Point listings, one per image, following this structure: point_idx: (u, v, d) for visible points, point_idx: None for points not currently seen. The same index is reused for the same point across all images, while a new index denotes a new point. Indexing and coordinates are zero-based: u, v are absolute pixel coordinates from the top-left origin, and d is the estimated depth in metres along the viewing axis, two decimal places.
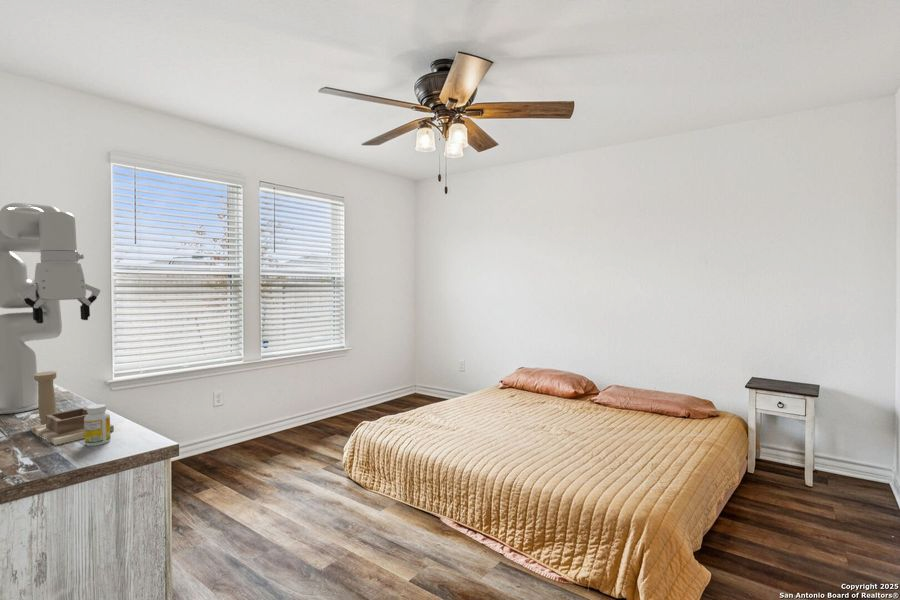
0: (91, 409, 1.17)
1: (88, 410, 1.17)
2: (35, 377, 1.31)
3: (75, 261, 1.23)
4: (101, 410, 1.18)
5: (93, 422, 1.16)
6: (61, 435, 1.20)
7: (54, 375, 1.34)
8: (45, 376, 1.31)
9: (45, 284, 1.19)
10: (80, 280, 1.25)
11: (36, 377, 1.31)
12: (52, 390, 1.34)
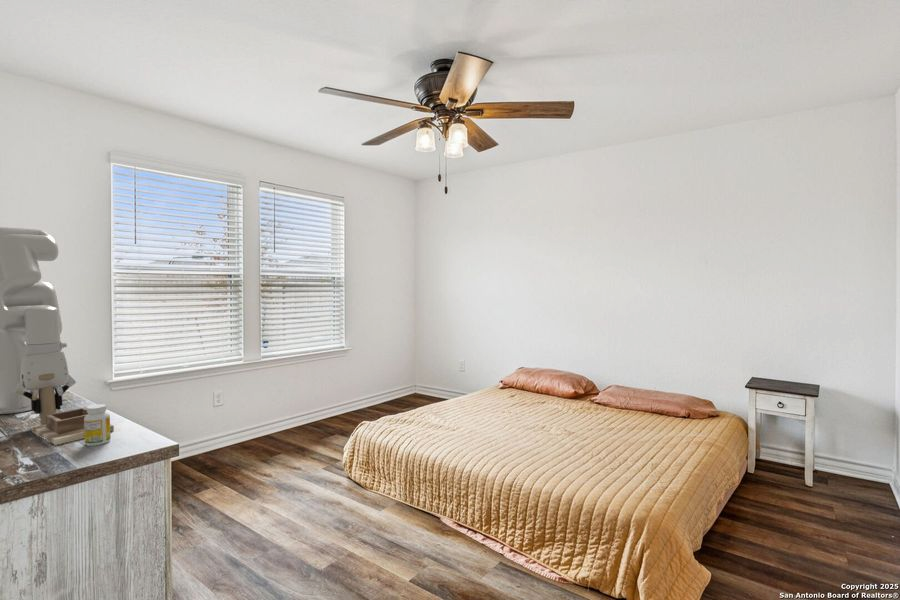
0: (91, 409, 1.17)
1: (88, 410, 1.17)
2: None
3: (58, 351, 1.34)
4: (101, 410, 1.18)
5: (93, 422, 1.16)
6: (61, 435, 1.20)
7: None
8: (45, 376, 1.31)
9: (30, 376, 1.29)
10: (63, 368, 1.36)
11: None
12: (52, 390, 1.34)
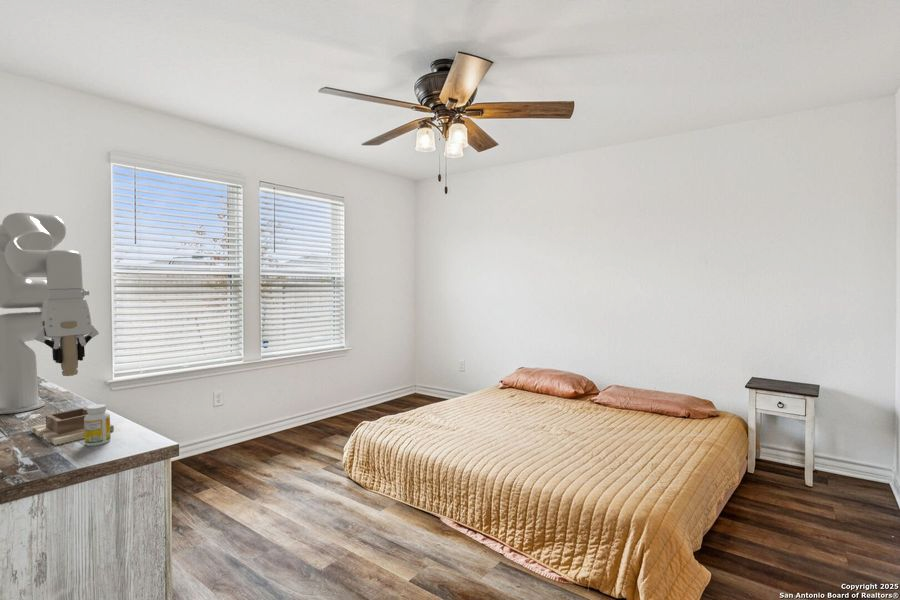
0: (91, 409, 1.17)
1: (88, 410, 1.17)
2: None
3: (81, 298, 1.26)
4: (101, 410, 1.18)
5: (93, 422, 1.16)
6: (61, 435, 1.20)
7: None
8: (67, 323, 1.23)
9: (52, 322, 1.21)
10: (86, 316, 1.28)
11: None
12: (74, 339, 1.26)
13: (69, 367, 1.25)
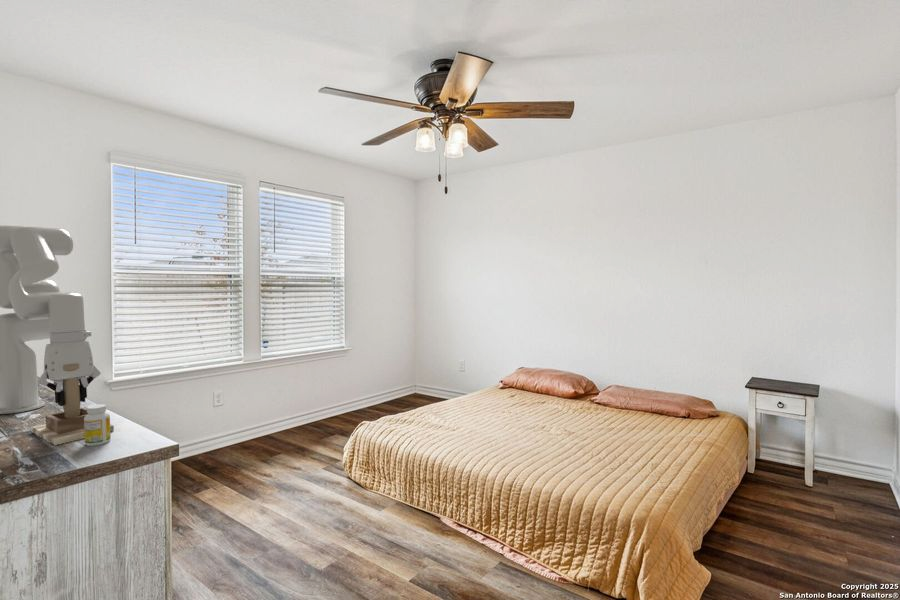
0: (91, 409, 1.17)
1: (88, 410, 1.17)
2: None
3: (83, 340, 1.27)
4: (101, 410, 1.18)
5: (93, 422, 1.16)
6: (61, 435, 1.20)
7: None
8: (70, 366, 1.24)
9: (54, 366, 1.22)
10: (88, 358, 1.28)
11: None
12: (77, 381, 1.27)
13: (71, 409, 1.26)
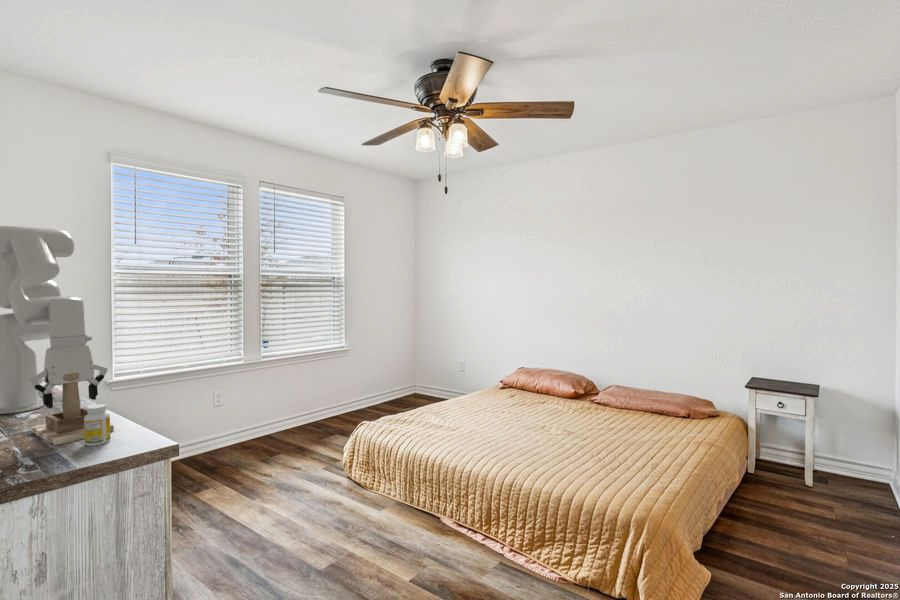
0: (91, 409, 1.17)
1: (88, 410, 1.17)
2: None
3: (84, 344, 1.27)
4: (101, 410, 1.18)
5: (93, 422, 1.16)
6: (61, 435, 1.20)
7: None
8: (70, 376, 1.24)
9: (55, 370, 1.22)
10: (88, 362, 1.28)
11: None
12: (77, 391, 1.27)
13: None
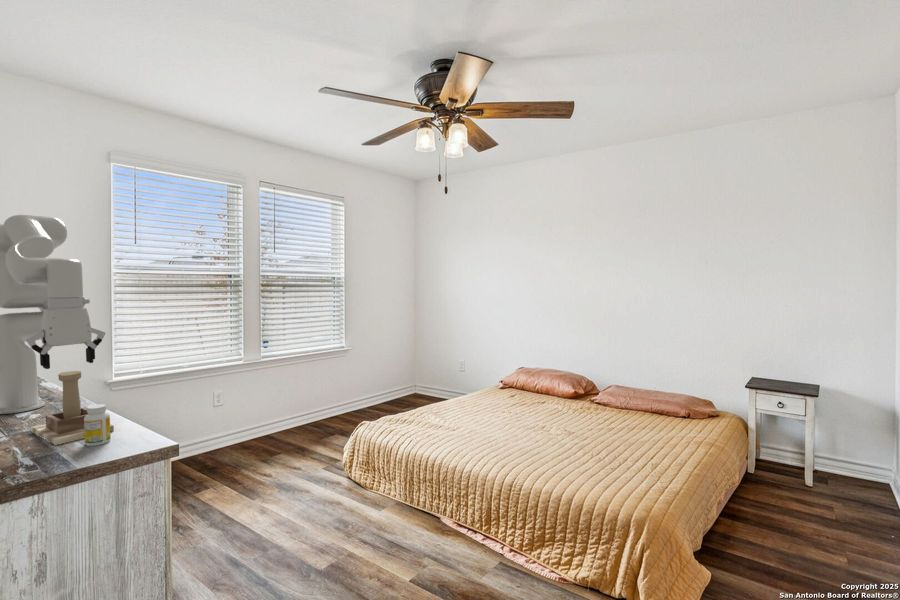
0: (91, 409, 1.17)
1: (88, 410, 1.17)
2: (60, 377, 1.24)
3: (81, 307, 1.26)
4: (101, 410, 1.18)
5: (93, 422, 1.16)
6: (61, 435, 1.20)
7: (79, 375, 1.27)
8: (70, 376, 1.24)
9: (52, 331, 1.22)
10: (86, 325, 1.28)
11: (61, 377, 1.24)
12: (77, 391, 1.27)
13: None
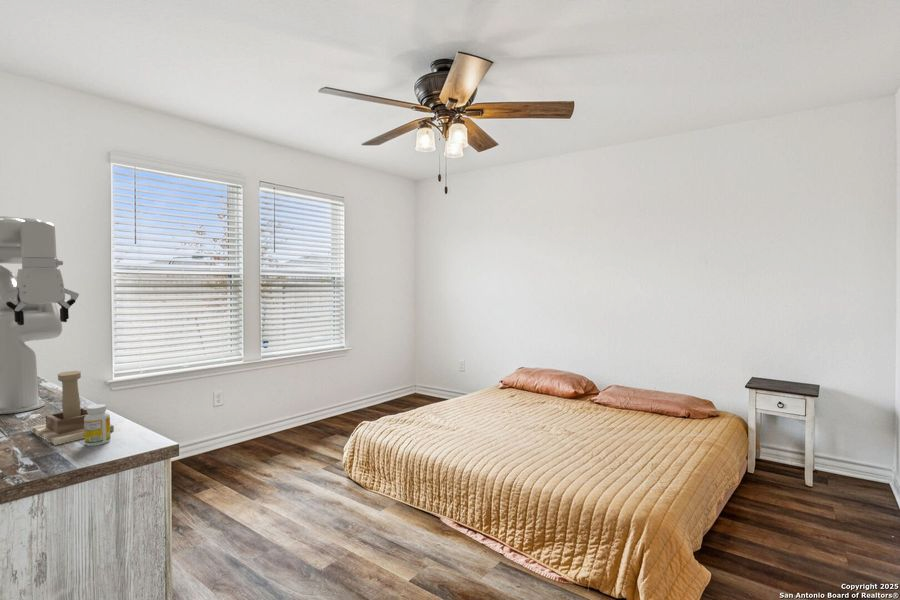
0: (91, 409, 1.17)
1: (88, 410, 1.17)
2: (59, 377, 1.24)
3: (54, 267, 1.33)
4: (101, 410, 1.18)
5: (93, 422, 1.16)
6: (61, 435, 1.20)
7: (79, 375, 1.27)
8: (70, 376, 1.24)
9: (26, 289, 1.28)
10: (59, 285, 1.34)
11: (60, 377, 1.24)
12: (76, 391, 1.27)
13: None
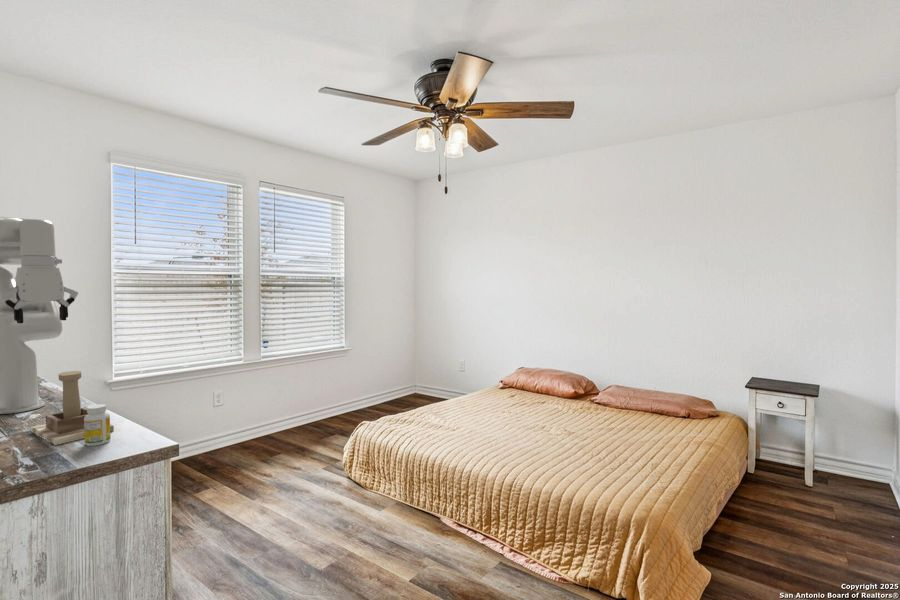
0: (91, 409, 1.17)
1: (88, 410, 1.17)
2: (60, 377, 1.24)
3: (54, 265, 1.33)
4: (101, 410, 1.18)
5: (93, 422, 1.16)
6: (61, 435, 1.20)
7: (79, 375, 1.27)
8: (70, 376, 1.24)
9: (25, 287, 1.28)
10: (58, 283, 1.34)
11: (61, 377, 1.24)
12: (77, 391, 1.27)
13: None
